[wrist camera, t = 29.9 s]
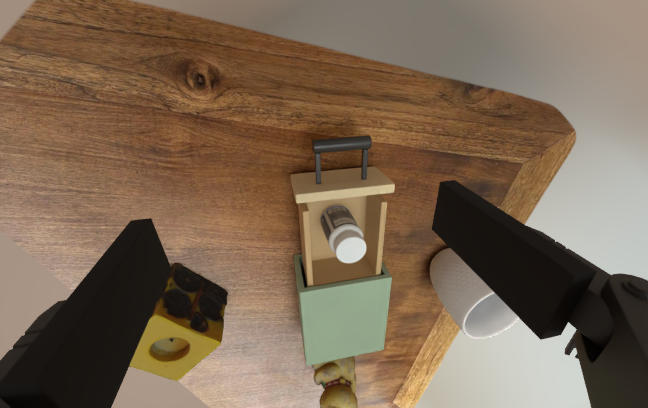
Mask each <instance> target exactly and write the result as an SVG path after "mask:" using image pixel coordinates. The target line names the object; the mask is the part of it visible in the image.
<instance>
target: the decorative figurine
mask: <svg viewBox="0 0 648 408" xmlns="http://www.w3.org/2000/svg"><path fill="white" fill-rule="evenodd" d="M313 368H314V371H315V374H314V381H315V383H316V384H317V385H320V384H322V386H323V388H324V389H325V391H324V392H323V394H322V395H321V398H320V408H357V406H358V404H357V398H356V396H355V390H356V375H355V360H354V356H351V357H347V358H342V359H337V360H333V361H328V362H323V363H319V364H314V365H313Z"/></svg>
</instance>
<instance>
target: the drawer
mask: <svg viewBox="0 0 648 408" xmlns="http://www.w3.org/2000/svg"><path fill="white" fill-rule="evenodd" d="M370 148H371V137H370V136H369V135H368V136H355V137H342V138H329V139H316V140H312V150H313V153H315V172H310V173H299V174H290V176H291V184H292V188H293V192H294V196H295V200H296V203H298V211H299V224H300V237H301V249H302V262H303V267H304V272H305V277H306V282H307V287H313V286H319V285H325V284H331V283H337V282H344V281H350V280H356V279H362V278H368V277H374V276H380V275H381V264H382V253H383V242H384V231H385V220H386V209H387V201H386V200H385V199H384V198H383V197H382V196H381V194H385V193H393V192H394V187H395V184H394V183H393V182H392V181H391V180H390V179H389V178H388V177H387V176H385V175H384V174H383V173H382V172H381V171H380V170H379V169H378V168H377V167H375V166H372V167H367V161H368V149H370ZM361 149H362V167H361V168H351V169H341V170H330V171H321V162H320V153H326V152H337V151H349V150H361ZM333 205H342V206H344V207H346V208H347V209H348V210H349V211H350V213H351V214H352V216H353V218H354V219H355V221H356V223H357V224H358V226H359V227H360V229H361V231H362V233H363V239H364V241H365V243H366V252H365V254H364V256H363V257H362V258H361V259H360V260H358V261H356V262H354V263H344V262H341V261H340V260H339V259H338V258H337V256H336V254H335V252H333V251H332V250H331V248H330V246H329V244H328V241H327V239H326V236H325V233H324V231H323V228H322V225H321V215H322V214H323V212H324V211H325V210H326V209H327V208H329V207H330V206H333Z"/></svg>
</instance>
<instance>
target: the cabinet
mask: <svg viewBox="0 0 648 408" xmlns="http://www.w3.org/2000/svg"><path fill="white" fill-rule="evenodd" d="M294 266H295V276H296V286H297V297H298V307H299V317H300V326H301V333H302V340H303V347H304V354H305V360H306V366H309V365H314V364H319V363H323V362H328V361H333V360H337V359H342V358H347V357H351V356H356V355H361V354H365V353H370V352H375V351H379V350H383V349H384V341H385V332H386V323H387V315H388V306H389V298H390V289H391V281H392V277H391V275H390V273H389V272H388V270H387V268H386V267H385V265H384V264H383V262H382V264H381V275H380V276H374V277H368V278H362V279H356V280H350V281H344V282H337V283H331V284H325V285H319V286H313V287H307V282H306V277H305V272H304V267H303V262H302V254H297V255H294Z"/></svg>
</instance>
